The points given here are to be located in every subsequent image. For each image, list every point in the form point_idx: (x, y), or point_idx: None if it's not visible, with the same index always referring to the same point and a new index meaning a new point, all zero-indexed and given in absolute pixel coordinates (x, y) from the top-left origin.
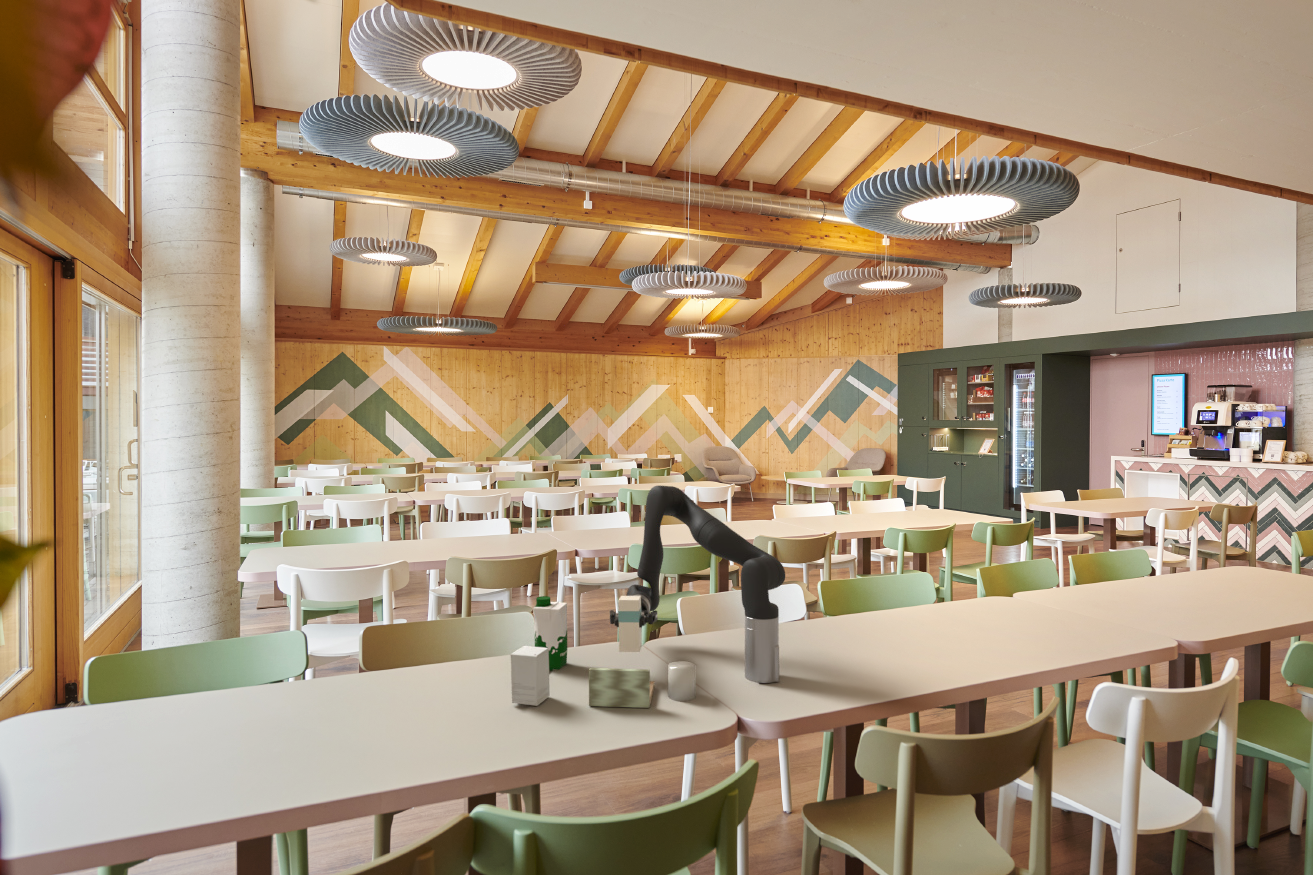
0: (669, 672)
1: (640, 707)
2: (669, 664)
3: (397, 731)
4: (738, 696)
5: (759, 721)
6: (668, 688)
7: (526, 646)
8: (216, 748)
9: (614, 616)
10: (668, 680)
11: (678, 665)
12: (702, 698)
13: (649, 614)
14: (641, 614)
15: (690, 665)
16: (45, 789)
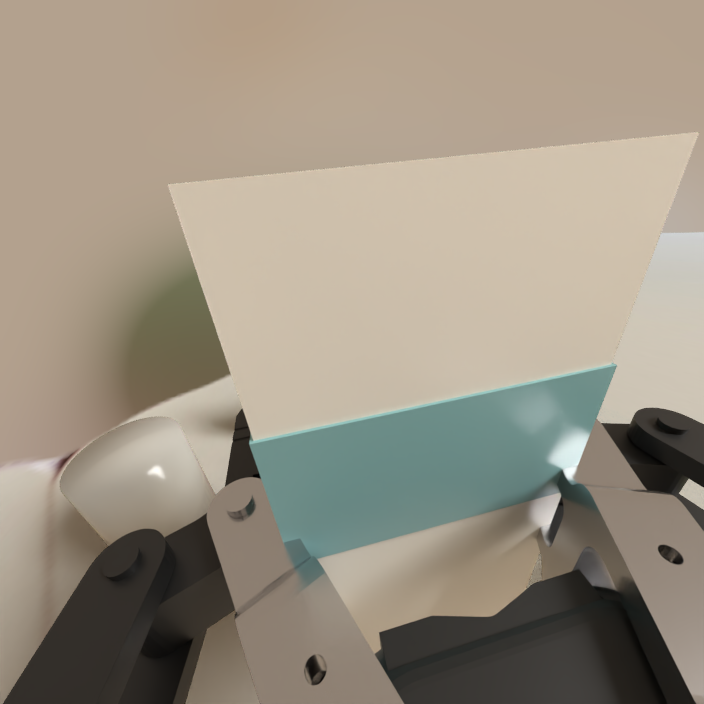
0: (187, 439)
1: None
2: (174, 445)
3: None
4: None
5: (23, 462)
6: (209, 484)
7: None
8: (692, 256)
9: (645, 455)
10: (200, 467)
11: (140, 447)
12: (102, 548)
13: (133, 608)
14: (286, 566)
15: (89, 462)
16: (675, 233)
